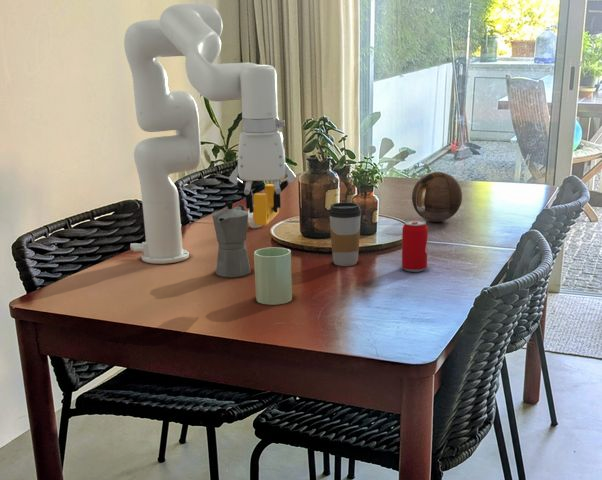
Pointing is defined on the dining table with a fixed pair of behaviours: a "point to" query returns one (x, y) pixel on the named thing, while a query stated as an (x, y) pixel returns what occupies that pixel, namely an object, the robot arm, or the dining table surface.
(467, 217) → the dining table surface
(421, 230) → the beverage can
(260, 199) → the yellow toy block
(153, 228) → the robot arm
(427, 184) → the wooden sphere
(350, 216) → the coffee cup
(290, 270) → the tumbler
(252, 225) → the white rounded piece
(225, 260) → the coffeepot
